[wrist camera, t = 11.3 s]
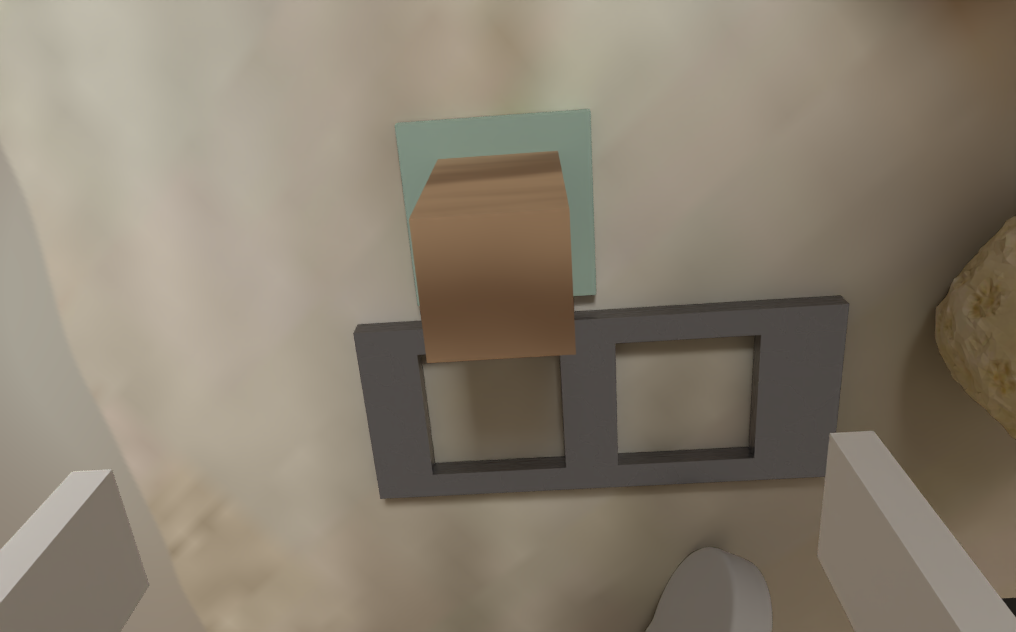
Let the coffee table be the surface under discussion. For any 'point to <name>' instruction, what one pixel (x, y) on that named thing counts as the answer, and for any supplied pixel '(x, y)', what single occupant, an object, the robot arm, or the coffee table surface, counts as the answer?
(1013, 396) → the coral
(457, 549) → the coffee table surface
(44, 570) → the robot arm
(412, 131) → the felt pad
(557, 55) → the coffee table surface
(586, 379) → the grey slotted board
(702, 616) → the game controller
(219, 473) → the coffee table surface
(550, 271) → the walnut block
